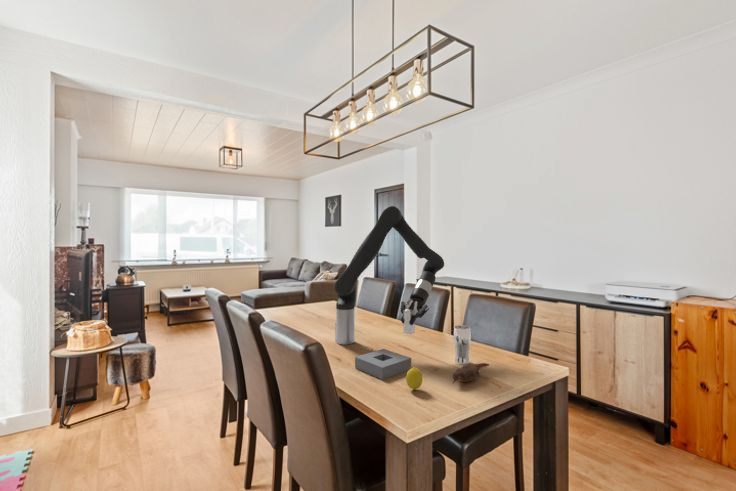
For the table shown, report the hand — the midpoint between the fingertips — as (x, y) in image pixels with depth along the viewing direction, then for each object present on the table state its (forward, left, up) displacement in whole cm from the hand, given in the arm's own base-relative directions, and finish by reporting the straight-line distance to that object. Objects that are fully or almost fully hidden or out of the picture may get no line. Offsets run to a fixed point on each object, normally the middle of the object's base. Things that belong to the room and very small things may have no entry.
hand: (406, 323), depth 154 cm
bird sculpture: (+30, +2, -16) cm, 34 cm away
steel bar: (0, +2, -5) cm, 5 cm away
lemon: (+23, -21, -16) cm, 35 cm away
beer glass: (+18, +15, -16) cm, 28 cm away
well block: (+1, -15, -16) cm, 22 cm away
